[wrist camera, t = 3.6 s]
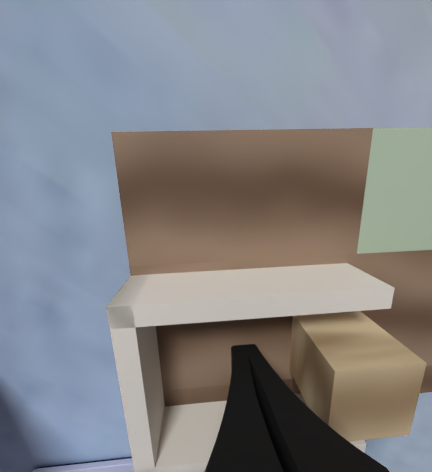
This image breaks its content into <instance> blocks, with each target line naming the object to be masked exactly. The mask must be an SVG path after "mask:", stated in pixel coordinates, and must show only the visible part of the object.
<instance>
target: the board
mask: <svg viewBox="0 0 432 472" xmlns="http://www.w3.org/2000/svg"><path fill="white" fill-rule="evenodd" d="M111 133H112V140H113V148H114V155H115V162H116V170H117V177H118V185H119V192H120V199H121V207H122V214H123V222H124V229H125V236H126V244H127V251H128V259H129V266H130V273H131V276H132V275H149V274H166V273H183V272H201V271H218V270H235V269H252V268H270V267H287V266H304V265H321V264H339V263H348V264H350V265H352V266H354V267H356V268H358V269H360V270H362V271H363V272H365V273H367V274H369V275H371V276H373V277H375V278H377V279H379V280H381V281H383V282H385V283H386V284H388V285H390V286H392V287H394V288H395V289H394V294H393V300H392V305H391V309H379V310H365V311H361V312H362V313H363V314H364V315H366V316H367V317H368V318H370V319H371V320H372V321H373V322H375V323H376V324H377V325H379V326H380V327H381V328H382V329H384V330H385V331H386V332H388V333H389V334H390V335H391V336H393V337H394V338H395V339H397V340H398V341H399V342H400V343H402V344H403V345H404V346H406V347H407V348H408V349H409V350H411V351H412V352H413V353H414V354H416V355H417V356H418V357H420V358H421V359H422V360H423V361H425V362H426V363H427V364H426V368H425V372H424V377H423V381H422V385H421V389H420V393H424V392H432V250H417V251H399V252H381V253H363V254H357V248H358V240H359V233H360V225H361V217H362V210H363V202H364V194H365V187H366V179H367V171H368V164H369V156H370V148H371V141H372V133H373V128H352V129H287V130H222V131H157V132H111ZM292 319H293V316H284V317H270V318H256V319H243V320H229V321H216V322H202V323H188V324H175V325H161V326H156V333H157V342H158V351H159V360H160V369H161V377H162V386H163V395H164V404H165V406H175V405H186V404H196V403H206V402H216V401H227V398H228V392H229V386H230V380H231V347H232V346H235V345H247V344H255V345H256V346H257V347H258V349H259V350H260V352H261V353H262V355H263V356H264V357H265V359H266V360H267V362H268V363H269V364H270V366H271V367H272V368H273V369H274V371H275V372H276V373H277V374H278V375H279V377H280V378H281V379H282V380H283V381H284V383H285V384H286V385H287V386H288V387H289V388H290V389H291V390H292V391H293V393H294V394H298V393H301V392H300V390H299V388H298V386H297V384H296V382H295V380H294V378H293V376H292V374H291V372H290V370H289V369H290V352H291V336H292Z"/></svg>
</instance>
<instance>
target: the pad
mask: <svg viewBox="0 0 432 472" xmlns="http://www.w3.org/2000/svg"><path fill="white" fill-rule="evenodd" d="M417 250H432V128H373V133H372V141H371V148H370V156H369V164H368V171H367V179H366V187H365V194H364V202H363V210H362V217H361V225H360V233H359V240H358V248H357V254H363V253H381V252H399V251H417Z"/></svg>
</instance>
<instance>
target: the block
mask: <svg viewBox="0 0 432 472" xmlns="http://www.w3.org/2000/svg"><path fill="white" fill-rule="evenodd" d="M426 364H427V363H426V362H425V361H423V360H422V359H421V358H420V357H418V356H417V355H416V354H414V353H413V352H412V351H411V350H409V349H408V348H407V347H406V346H404V345H403V344H402V343H400V342H399V341H398V340H397V339H395V338H394V337H393V336H391V335H390V334H389V333H388V332H386V331H385V330H384V329H382V328H381V327H380V326H379V325H377V324H376V323H375V322H373V321H372V320H371V319H370V318H368V317H367V316H366V315H364V314H363V313H362V312H361V311H352V312H338V313H325V314H311V315H297V316H293V319H292V336H291V352H290V369H289V370H290V372H291V374H292V376H293V378H294V380H295V382H296V384H297V386H298V388H299V390H300V392H301V394H302V396H303V398H304V400H305V402H306V404H307V406H308V408H309V409H310V410H312V411H313V412H314V413H315V414H316V415H317V416H318V417H319V418H320V419H321V420H323V421H324V422H325V423H326V424H327V425H329V426H330V427H331V428H332V429H333V430H335V431H336V432H337V433H338V434H339V435H341V436H342V437H343V438H345V439H346V440H347V441H349V442H352V441H361V440H370V439H379V438H387V437H396V436H405V435H409V434H410V430H411V426H412V422H413V418H414V414H415V410H416V405H417V401H418V397H419V393H420V389H421V385H422V381H423V377H424V372H425V368H426Z"/></svg>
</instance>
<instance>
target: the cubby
mask: <svg viewBox="0 0 432 472" xmlns="http://www.w3.org/2000/svg"><path fill="white" fill-rule="evenodd" d="M394 289H395V288H394V287H392V286H390V285H388V284H386V283H385V282H383V281H381V280H379V279H377V278H375V277H373V276H371V275H369V274H367V273H365V272H363V271H362V270H360V269H358V268H356V267H354V266H352V265H350V264H348V263H339V264H321V265H304V266H287V267H270V268H252V269H235V270H218V271H201V272H183V273H166V274H149V275H132V276H130V277H129V278H128V280H127V281H126V282H125V284H124V285H123V286H122V287H121V289H120V290H119V291H118V293H117V294H116V295H115V296H114V298H113V299H112V300H111V302H110V303H109V304H108V305H107V307H106V309H107V314H108V320H109V326H110V332H111V338H112V344H113V350H114V355H115V361H116V367H117V373H118V379H119V385H120V391H121V396H122V402H123V408H124V414H125V420H126V426H127V432H128V437H129V443H130V449H131V455H132V461H133V467H134V472H204V471H205V469H206V466H207V464H208V461H209V459H210V456H211V453H212V450H213V447H214V444H215V441H216V439H217V435H218V432H219V429H220V425H221V422H222V418H223V415H224V411H225V407H226V402H227V401H216V402H206V403H196V404H186V405H175V406H165V404H164V395H163V386H162V377H161V369H160V360H159V351H158V342H157V333H156V326H161V325H175V324H188V323H202V322H216V321H229V320H243V319H256V318H270V317H284V316H297V315H311V314H325V313H338V312H352V311H365V310H379V309H391V305H392V300H393V294H394ZM295 395H296V396H297V397H298V398H299V399H300V400H301V401H302V402H303V403H304V404H305V405H306V406H307V404H306V402H305V400H304V398H303V396H302V394H301V393H298V394H295ZM307 407H308V406H307ZM350 443H351V444H353V445H354V446H355V447H357V448H358V449H359V450H361V451H362V452H364V453H365V448H366V442H365V441H364V440H361V441H352V442H350Z"/></svg>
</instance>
